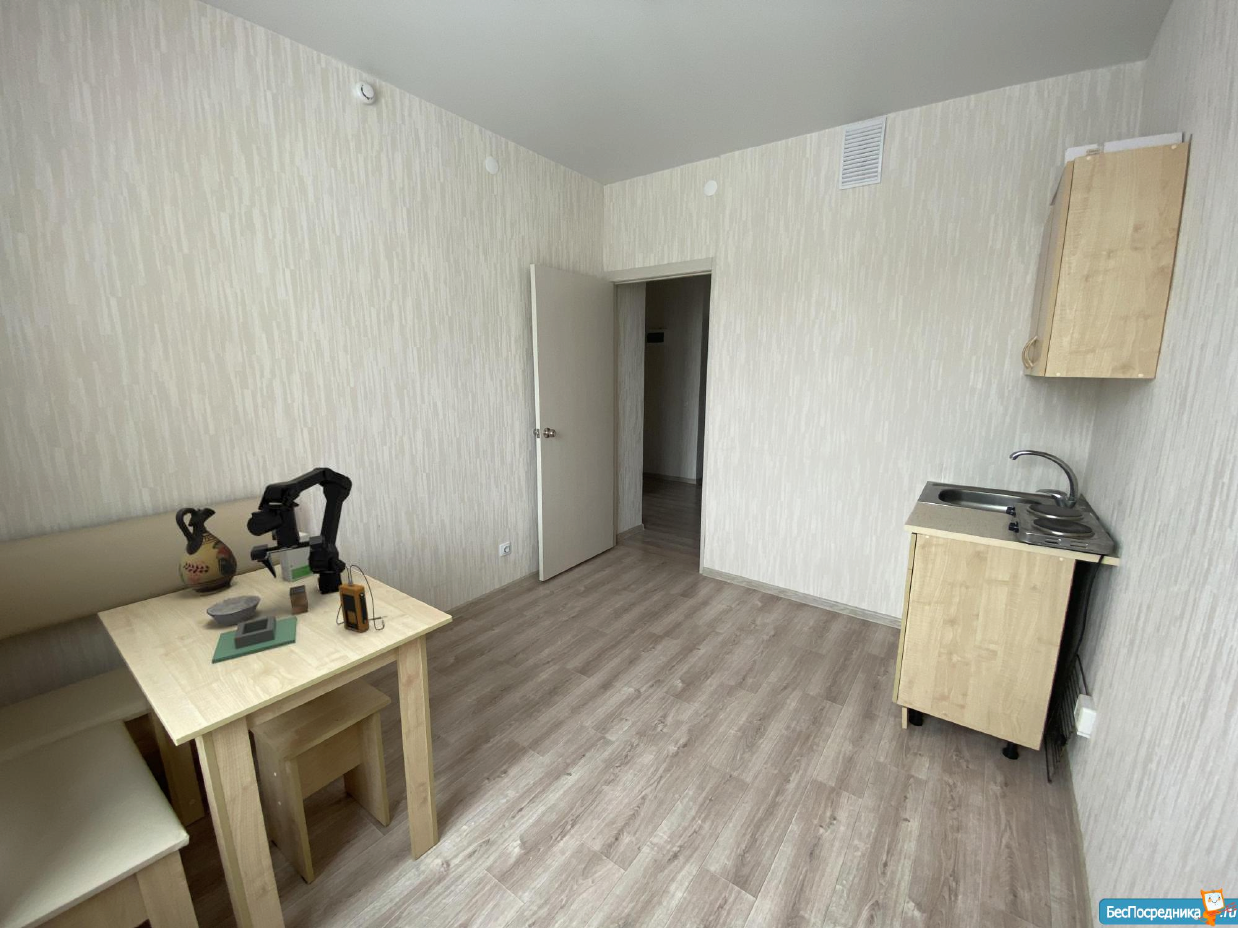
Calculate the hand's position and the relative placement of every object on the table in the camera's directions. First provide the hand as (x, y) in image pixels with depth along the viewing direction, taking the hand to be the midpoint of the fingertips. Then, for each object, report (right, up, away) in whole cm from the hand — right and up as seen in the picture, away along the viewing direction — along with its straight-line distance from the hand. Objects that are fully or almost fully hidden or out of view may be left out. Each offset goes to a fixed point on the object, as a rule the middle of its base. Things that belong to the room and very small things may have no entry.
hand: (293, 573), depth 156 cm
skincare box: (-16, -7, +29) cm, 34 cm away
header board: (-1, -15, -15) cm, 21 cm away
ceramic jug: (-41, -10, +19) cm, 46 cm away
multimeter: (+26, -13, -7) cm, 30 cm away
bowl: (-16, -13, -2) cm, 21 cm away
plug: (+1, -12, +2) cm, 12 cm away
